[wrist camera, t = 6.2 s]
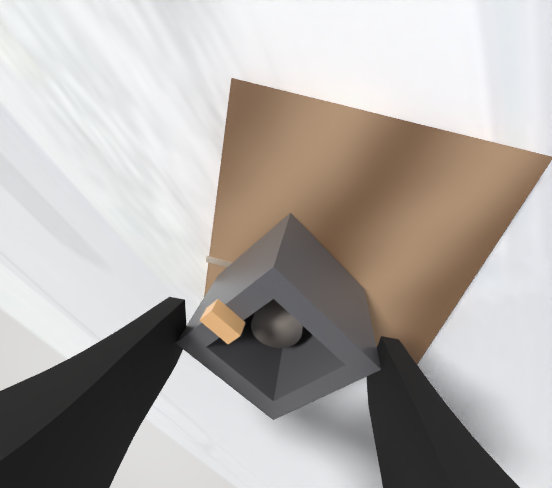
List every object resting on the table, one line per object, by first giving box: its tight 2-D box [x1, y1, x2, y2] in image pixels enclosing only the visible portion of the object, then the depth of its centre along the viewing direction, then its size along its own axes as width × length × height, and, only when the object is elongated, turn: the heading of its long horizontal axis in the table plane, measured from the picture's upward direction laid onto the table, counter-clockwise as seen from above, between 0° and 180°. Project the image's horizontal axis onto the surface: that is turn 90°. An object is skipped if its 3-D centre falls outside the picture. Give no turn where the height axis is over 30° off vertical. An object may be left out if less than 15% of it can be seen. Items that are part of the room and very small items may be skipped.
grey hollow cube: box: [176, 213, 381, 420], centre depth 11 cm, size 5×5×5 cm
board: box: [204, 78, 552, 364], centre depth 12 cm, size 12×12×4 cm
